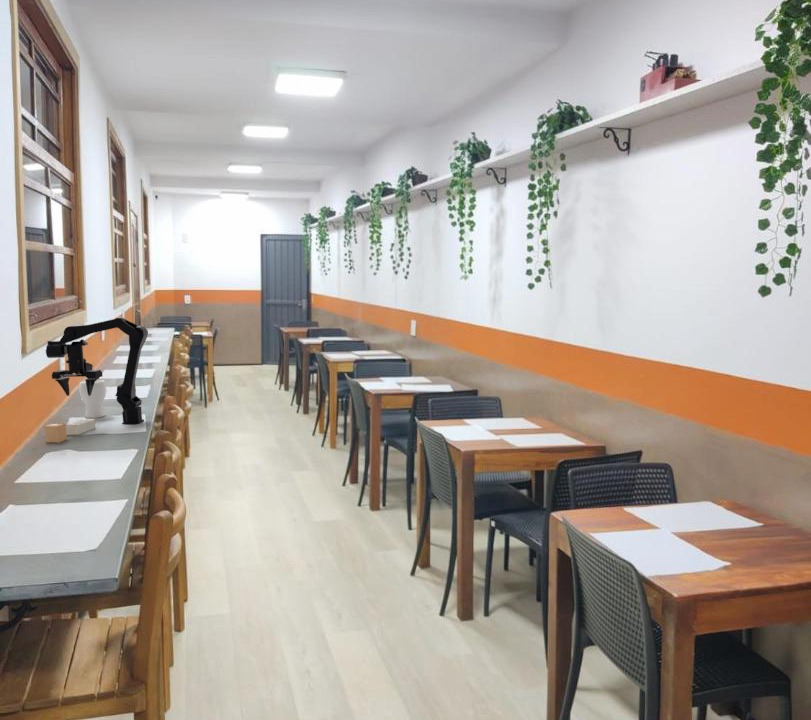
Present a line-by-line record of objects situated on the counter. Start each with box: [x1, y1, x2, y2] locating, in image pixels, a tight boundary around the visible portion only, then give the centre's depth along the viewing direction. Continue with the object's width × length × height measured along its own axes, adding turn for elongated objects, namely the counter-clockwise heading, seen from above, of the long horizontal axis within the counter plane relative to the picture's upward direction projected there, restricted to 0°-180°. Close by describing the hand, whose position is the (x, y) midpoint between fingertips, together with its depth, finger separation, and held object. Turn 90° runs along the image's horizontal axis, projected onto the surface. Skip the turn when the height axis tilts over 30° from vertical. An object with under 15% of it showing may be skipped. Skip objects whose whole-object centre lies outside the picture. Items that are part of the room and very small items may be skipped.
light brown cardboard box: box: [44, 422, 68, 443], centre depth 274 cm, size 5×5×6 cm
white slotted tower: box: [66, 418, 97, 436], centre depth 289 cm, size 5×12×4 cm, turn 171°
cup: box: [78, 379, 107, 419], centre depth 317 cm, size 11×11×15 cm
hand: (78, 395), depth 300 cm, fingers open, 9 cm apart
